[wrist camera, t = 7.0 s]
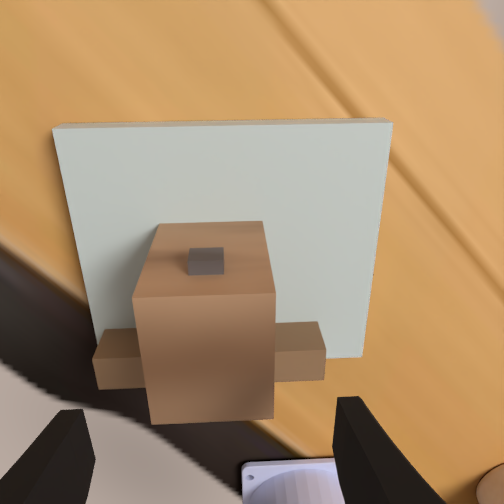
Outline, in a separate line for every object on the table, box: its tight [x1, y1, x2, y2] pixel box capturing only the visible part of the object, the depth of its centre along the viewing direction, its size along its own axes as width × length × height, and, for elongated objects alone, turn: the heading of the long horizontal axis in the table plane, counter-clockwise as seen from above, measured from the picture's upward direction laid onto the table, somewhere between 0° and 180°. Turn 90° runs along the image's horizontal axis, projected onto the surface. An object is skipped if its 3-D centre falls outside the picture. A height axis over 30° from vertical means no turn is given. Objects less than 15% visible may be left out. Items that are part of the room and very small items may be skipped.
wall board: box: [52, 118, 393, 390], centre depth 19 cm, size 12×14×3 cm
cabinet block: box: [132, 221, 276, 425], centre depth 17 cm, size 6×4×6 cm
